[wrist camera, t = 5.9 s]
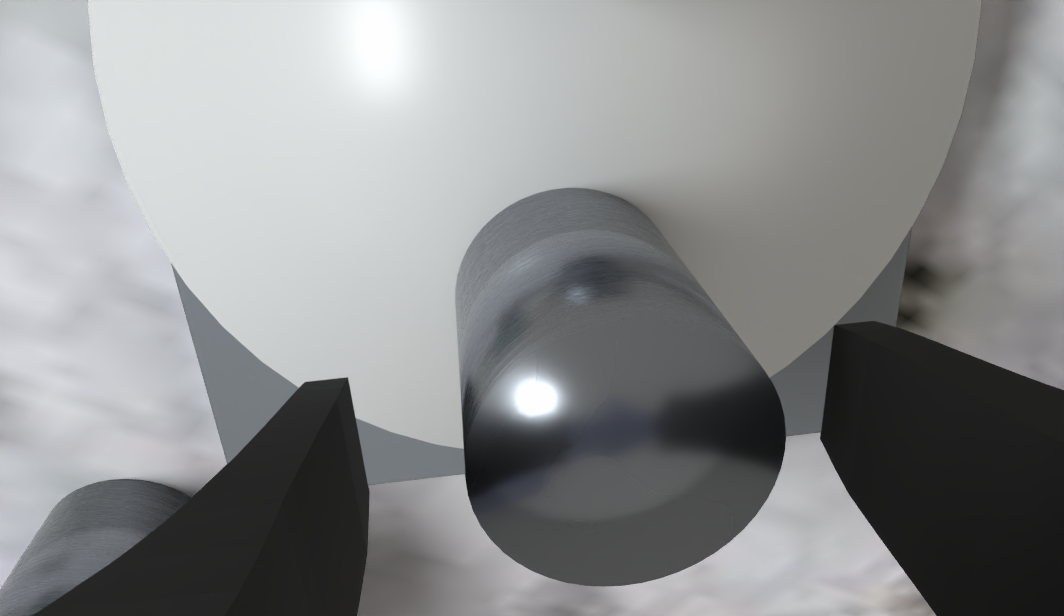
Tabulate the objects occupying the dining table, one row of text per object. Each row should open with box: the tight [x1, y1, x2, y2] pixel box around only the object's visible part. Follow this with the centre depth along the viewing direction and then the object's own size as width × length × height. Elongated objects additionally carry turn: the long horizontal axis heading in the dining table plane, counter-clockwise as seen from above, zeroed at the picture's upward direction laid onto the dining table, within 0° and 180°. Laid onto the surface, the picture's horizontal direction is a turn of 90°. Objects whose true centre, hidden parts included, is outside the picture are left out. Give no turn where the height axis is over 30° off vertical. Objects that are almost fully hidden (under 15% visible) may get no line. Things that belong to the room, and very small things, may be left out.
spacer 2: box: [455, 188, 786, 586], centre depth 12 cm, size 4×4×5 cm
